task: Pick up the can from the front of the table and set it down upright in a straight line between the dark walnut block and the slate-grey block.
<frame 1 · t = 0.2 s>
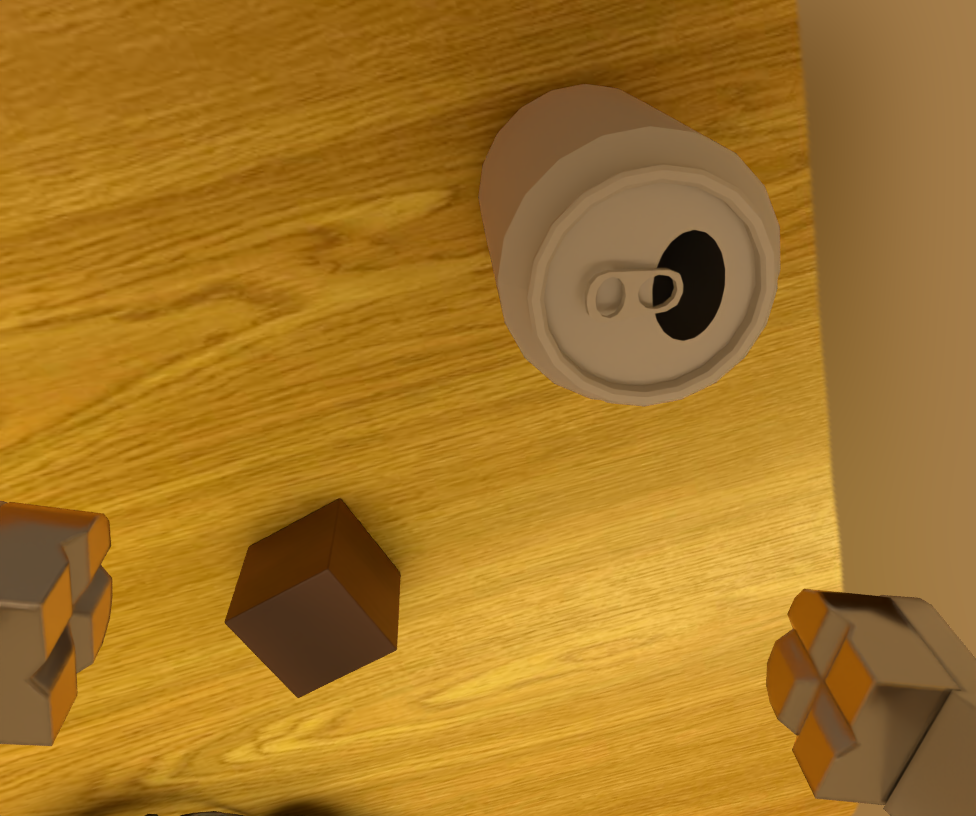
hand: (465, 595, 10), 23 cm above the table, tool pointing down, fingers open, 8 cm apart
can: (576, 187, 31), on the table
walnut block: (325, 560, 38), on the table
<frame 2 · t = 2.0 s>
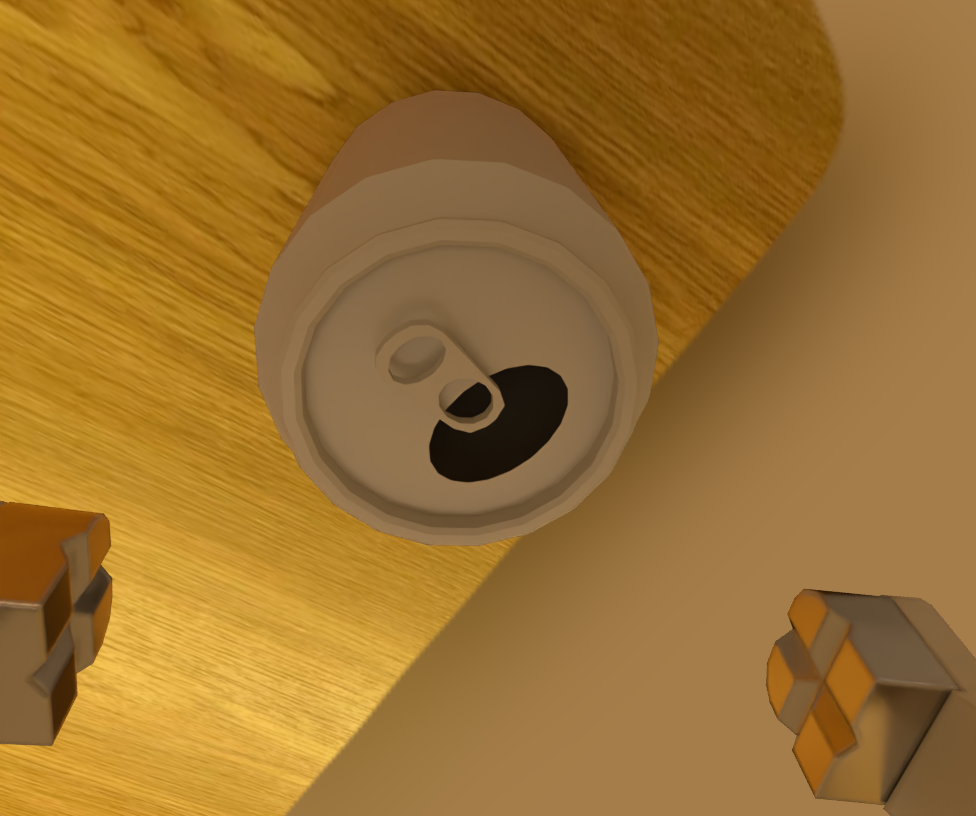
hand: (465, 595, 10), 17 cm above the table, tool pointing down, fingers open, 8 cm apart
can: (450, 218, 25), on the table
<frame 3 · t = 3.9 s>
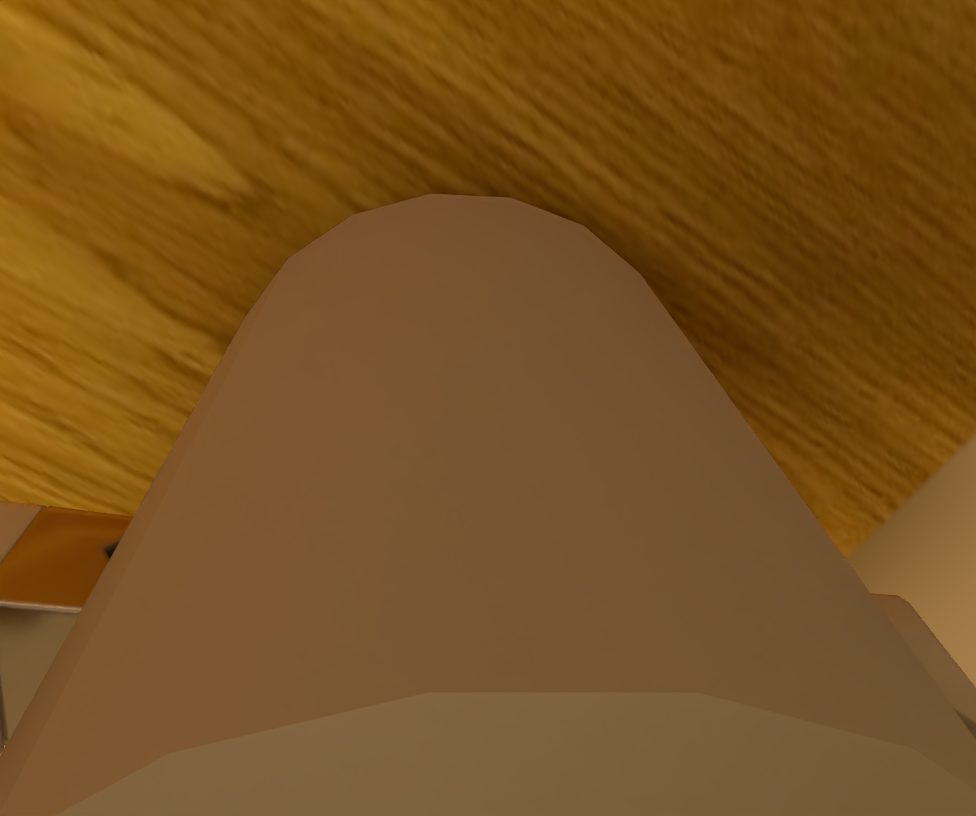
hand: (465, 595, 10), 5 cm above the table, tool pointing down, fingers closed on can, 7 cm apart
can: (457, 391, 15), on the table, touching gripper
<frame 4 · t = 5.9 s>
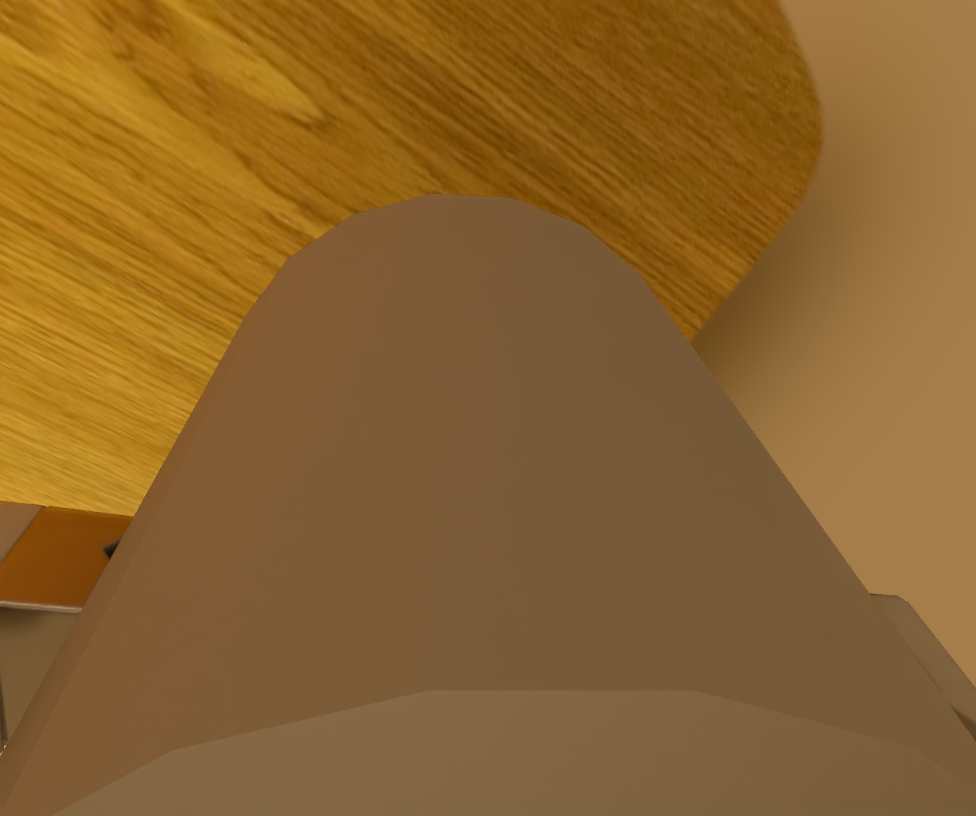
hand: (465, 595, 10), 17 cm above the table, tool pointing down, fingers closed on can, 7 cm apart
can: (456, 391, 15), point 11 cm above the table, touching gripper
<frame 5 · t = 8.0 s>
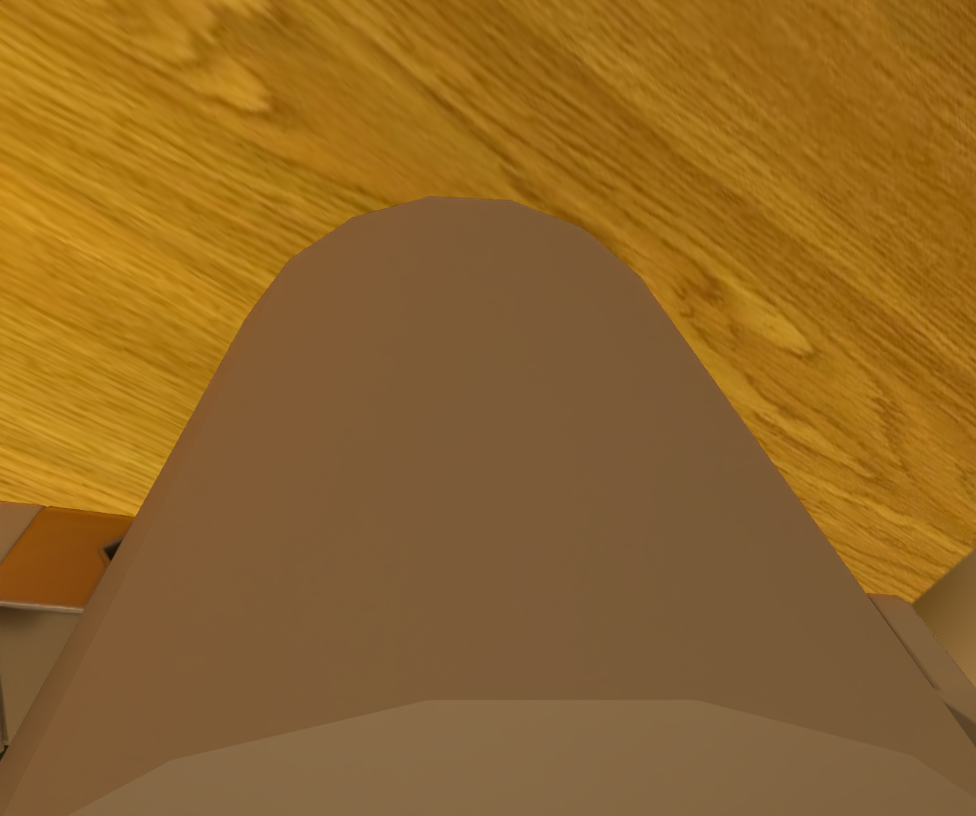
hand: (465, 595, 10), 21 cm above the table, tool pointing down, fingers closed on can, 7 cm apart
can: (456, 393, 15), point 15 cm above the table, touching gripper
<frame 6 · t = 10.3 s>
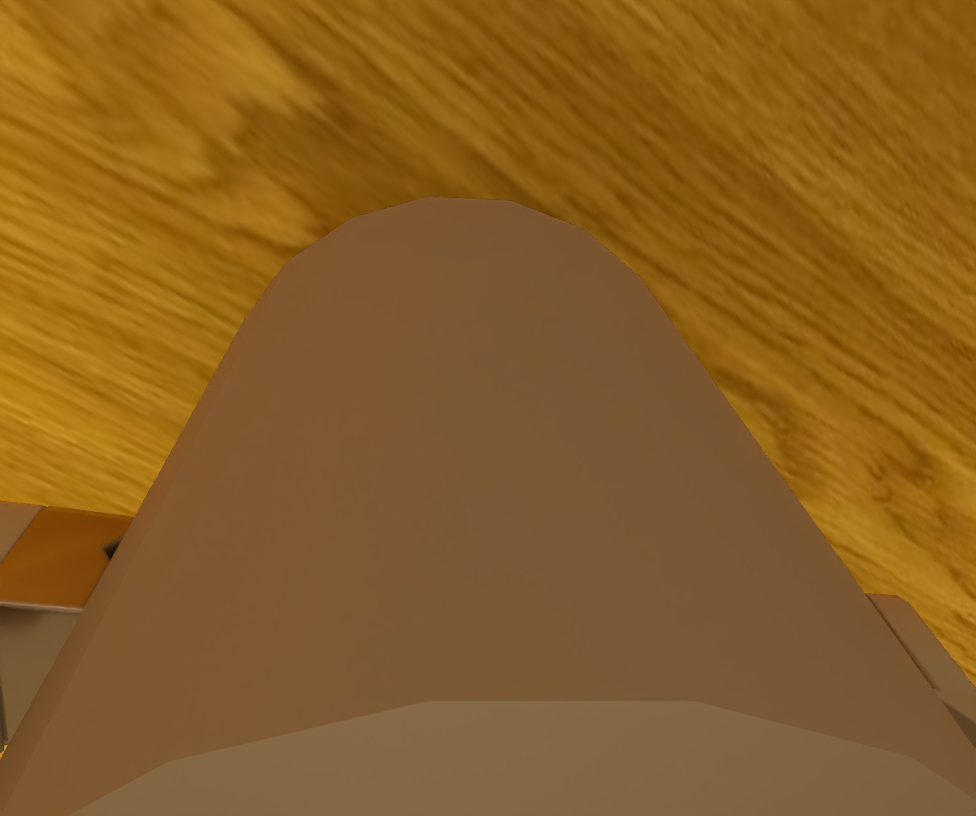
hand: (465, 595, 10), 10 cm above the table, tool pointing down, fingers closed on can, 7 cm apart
can: (456, 394, 15), point 5 cm above the table, touching gripper
when the fingers open (5 cm above the table, at t = 12.3 s): can stays where it is, on the table.
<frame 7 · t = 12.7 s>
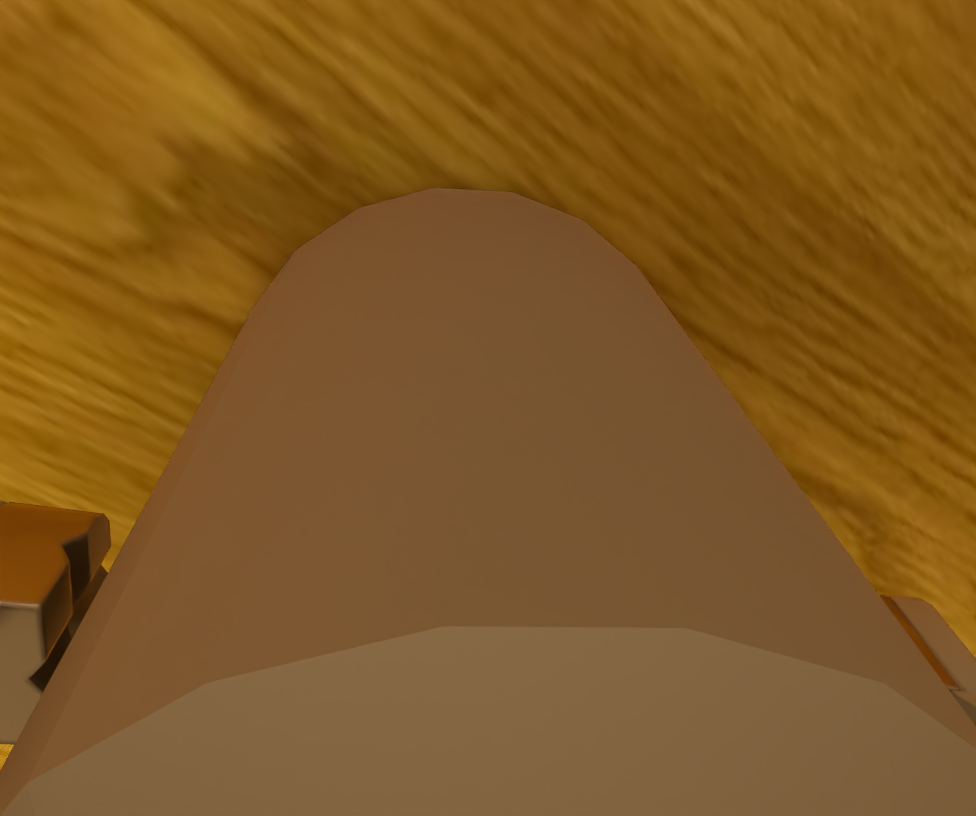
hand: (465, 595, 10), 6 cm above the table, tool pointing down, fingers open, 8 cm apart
can: (458, 382, 15), on the table
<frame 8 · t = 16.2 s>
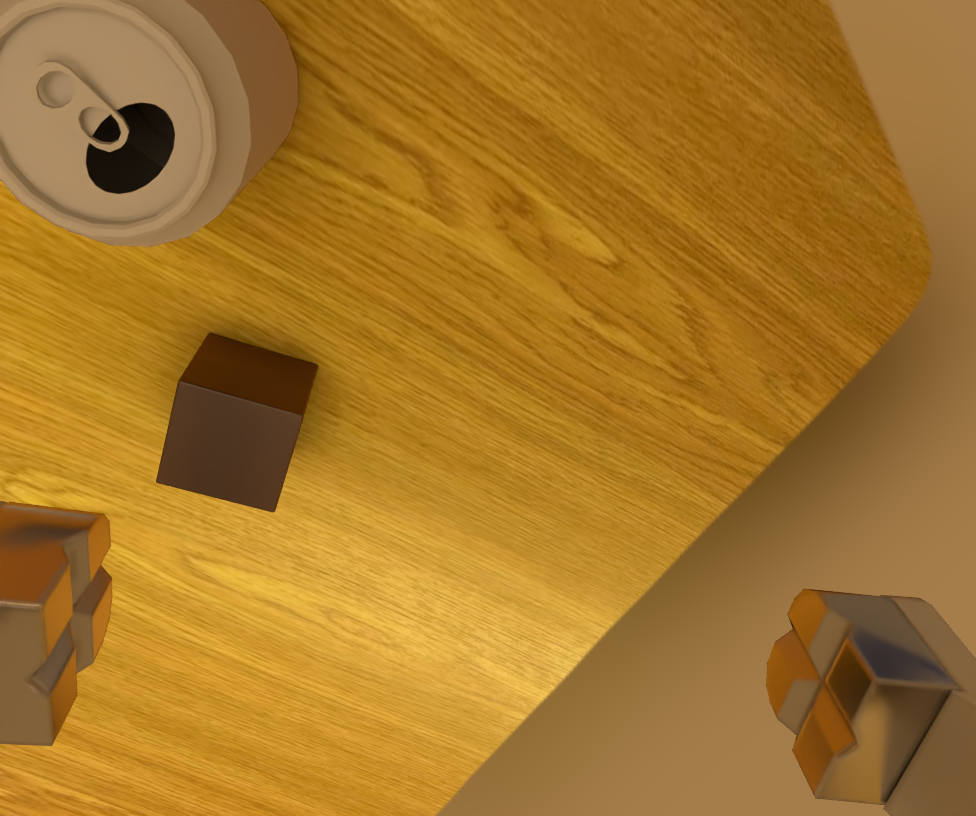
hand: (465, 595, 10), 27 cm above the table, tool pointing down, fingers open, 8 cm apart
can: (205, 76, 32), on the table
walnut block: (251, 395, 38), on the table
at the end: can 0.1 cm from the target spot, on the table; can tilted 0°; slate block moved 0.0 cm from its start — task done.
